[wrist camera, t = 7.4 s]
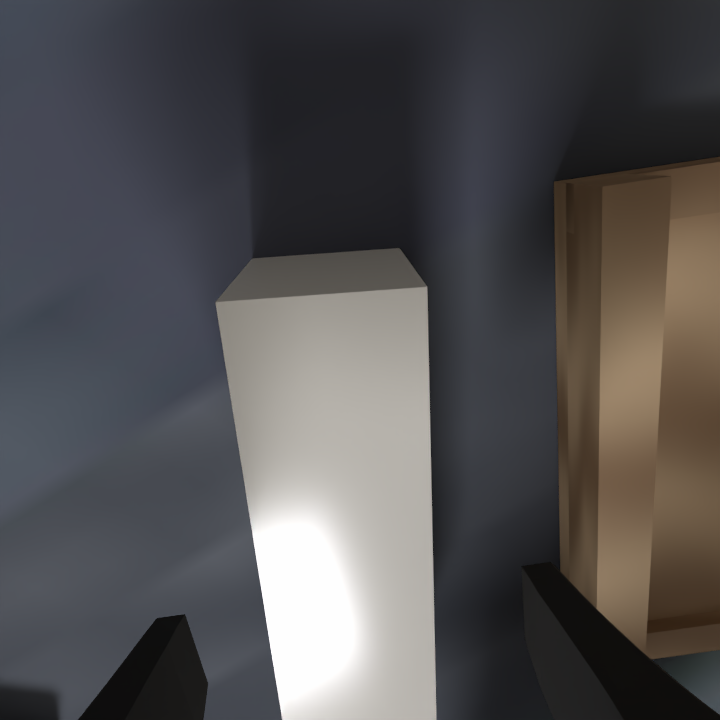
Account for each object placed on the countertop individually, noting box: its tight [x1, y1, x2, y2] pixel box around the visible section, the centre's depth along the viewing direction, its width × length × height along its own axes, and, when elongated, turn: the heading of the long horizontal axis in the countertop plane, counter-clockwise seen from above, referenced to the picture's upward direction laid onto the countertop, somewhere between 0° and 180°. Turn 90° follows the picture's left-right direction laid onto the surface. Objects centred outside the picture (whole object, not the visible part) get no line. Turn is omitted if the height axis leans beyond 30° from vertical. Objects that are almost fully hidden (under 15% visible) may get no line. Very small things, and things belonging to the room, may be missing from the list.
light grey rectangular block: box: [216, 248, 436, 720], centre depth 15 cm, size 14×4×5 cm, turn 4°
